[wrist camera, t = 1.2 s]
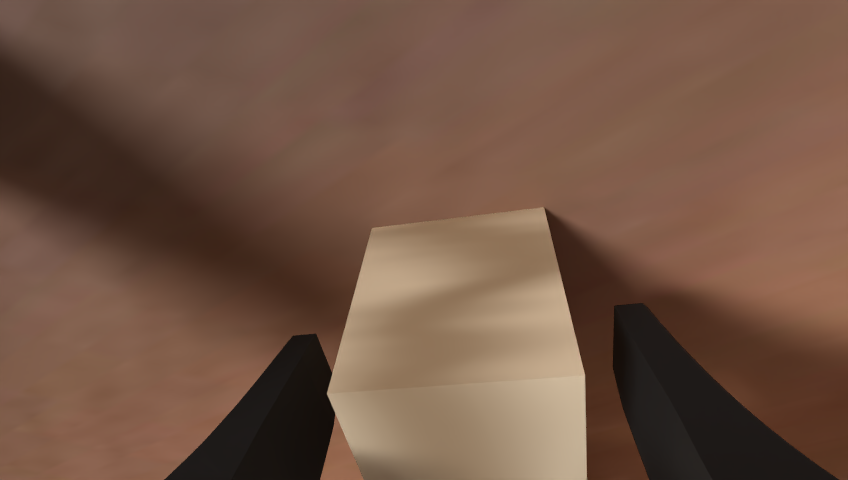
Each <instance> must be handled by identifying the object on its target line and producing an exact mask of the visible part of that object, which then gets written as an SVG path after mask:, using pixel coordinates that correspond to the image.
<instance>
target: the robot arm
mask: <svg viewBox="0 0 848 480" xmlns="http://www.w3.org/2000/svg"><path fill="white" fill-rule="evenodd" d="M613 370H614V374H615V378H616V382H617V387H618V391H619V395H620V399H621V403H622V406H623V410H624V413H625V415H626V418H627V421H628V424H629V426H630V429H631V432H632V434H633V437H634V440H635V443H636V445H637V448H638V451H639V453H640V456H641V459H642V461H643V464H644V467H645V469H646V472H647V475H648V477H649V480H839V479H837V478H836V477H834V476H833V475H831V474H830V473H828V472H827V471H825V470H824V469H822V468H821V467H820V466H818V465H817V464H815V463H814V462H813V461H811V460H810V459H809V458H807V457H806V456H805V455H803V454H802V453H801V452H799V451H798V450H797V449H795V448H794V447H793V446H791V445H790V444H789V443H787V442H786V441H785V440H784V439H782V438H781V437H780V436H779V435H777V434H776V433H775V432H774V431H772V430H771V429H770V428H769V427H767V426H766V425H765V424H764V423H762V422H761V421H760V420H759V419H758V418H757V417H755V416H754V415H753V414H752V413H751V412H750V411H748V410H747V409H746V408H745V407H744V406H743V405H742V404H740V403H739V402H738V401H737V400H736V399H735V398H734V397H733V396H732V395H730V394H729V393H728V392H727V391H726V390H725V389H724V388H723V387H722V386H721V385H720V384H719V383H718V382H717V381H715V380H714V379H713V378H712V377H711V376H710V375H709V374H708V373H707V372H706V371H705V370H704V369H703V368H702V367H701V366H700V365H699V364H698V363H697V362H696V361H695V360H694V359H693V358H692V357H691V356H690V355H689V354H688V353H687V351H686V350H685V349H684V348H683V347H682V346H681V345H680V344H679V343H678V342H677V341H676V340H675V339H674V337H673V336H672V335H671V334H670V333H669V332H668V331H667V330H666V329H665V327H664V326H663V325H662V324H661V323H660V322H659V321H658V319H657V318H656V317H655V316H654V315H653V313H652V312H651V311H650V310H649V309H648V307H647V306H645V305H644V304H643V303H639V304H628V305H617V306H614V341H613ZM331 377H332V372H331V369H330V367H329V364H328V362H327V360H326V357H325V355H324V352H323V350H322V347H321V345H320V343H319V340H318V338H317V335H316V334H307V335H296V336H292V338H291V339H290V340H289V341H288V342H287V344H286V345H285V346H284V347H283V349H282V350H281V351H280V352H279V354H278V355H277V356H276V357H275V359H274V360H273V361H272V362H271V364H270V365H269V366H268V367H267V369H266V370H265V371H264V372H263V374H262V375H261V376H260V377H259V379H258V380H257V381H256V382H255V384H254V385H253V386H252V387H251V388H250V390H249V391H248V392H247V393H246V394H245V396H244V397H243V398H242V399H241V400H240V402H239V403H238V404H237V405H236V406H235V407H234V409H233V410H232V411H231V412H230V413H229V414H228V415H227V416H226V418H225V419H224V420H223V421H222V422H221V423H220V424H219V425H218V426H217V428H216V429H215V430H214V431H213V432H212V433H211V434H210V435H209V436H208V438H207V439H206V440H205V441H204V442H203V443H202V444H201V445H200V446H199V447H198V448H197V449H196V450H195V451H194V452H193V453H192V454H191V455H190V456H189V457H188V458H187V459H186V460H185V461H184V462H183V463H182V464H180V465H179V466H178V467H177V468H176V469H175V470H174V471H173V472H172V473H171V474H170V475H169V476H168V477H167V478H166V479H164V480H320V477H321V474H322V470H323V466H324V462H325V458H326V454H327V450H328V446H329V443H330V439H331V435H332V430H333V426H334V419H335V411H334V409H333V407H332V404H331V402H330V400H329V397H328V395H327V392H328V388H329V384H330V381H331Z"/></svg>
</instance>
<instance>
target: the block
mask: <svg viewBox="0 0 848 480" xmlns="http://www.w3.org/2000/svg"><path fill="white" fill-rule="evenodd" d="M327 395H328V397H329V400H330V402H331V404H332V407H333V409H334V411H335V414H336V416H337V418H338V421H339V423H340V425H341V427H342V430H343V432H344V434H345V437H346V439H347V441H348V444H349V446H350V448H351V451H352V453H353V455H354V458H355V460H356V462H357V465H358V467H359V469H360V472H361V474H362V476H363V479H364V480H587V457H586V400H585V373H584V369H583V365H582V361H581V357H580V353H579V348H578V344H577V340H576V336H575V332H574V328H573V324H572V320H571V316H570V312H569V308H568V303H567V299H566V295H565V291H564V287H563V283H562V279H561V275H560V271H559V267H558V263H557V258H556V254H555V250H554V246H553V242H552V238H551V234H550V230H549V226H548V222H547V218H546V213H545V209H544V207H543V208H535V209H526V210H518V211H510V212H501V213H493V214H485V215H476V216H468V217H460V218H452V219H443V220H435V221H427V222H418V223H410V224H402V225H393V226H385V227H377V228H372V230H371V233H370V237H369V241H368V244H367V248H366V252H365V255H364V259H363V263H362V267H361V270H360V274H359V278H358V281H357V285H356V289H355V292H354V296H353V300H352V303H351V307H350V311H349V314H348V318H347V322H346V325H345V329H344V333H343V336H342V340H341V344H340V347H339V351H338V355H337V358H336V362H335V366H334V370H333V373H332V377H331V381H330V384H329V388H328V392H327Z"/></svg>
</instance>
